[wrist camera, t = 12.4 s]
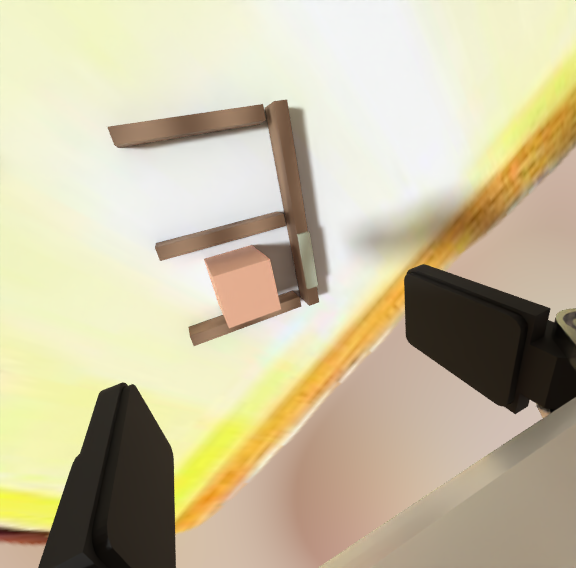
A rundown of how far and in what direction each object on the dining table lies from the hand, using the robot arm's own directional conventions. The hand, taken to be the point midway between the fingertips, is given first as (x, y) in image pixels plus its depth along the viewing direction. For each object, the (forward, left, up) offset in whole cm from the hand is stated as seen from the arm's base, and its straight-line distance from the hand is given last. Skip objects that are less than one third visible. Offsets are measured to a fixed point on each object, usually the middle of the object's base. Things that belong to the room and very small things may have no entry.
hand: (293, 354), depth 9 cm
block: (-1, +4, -21) cm, 22 cm away
